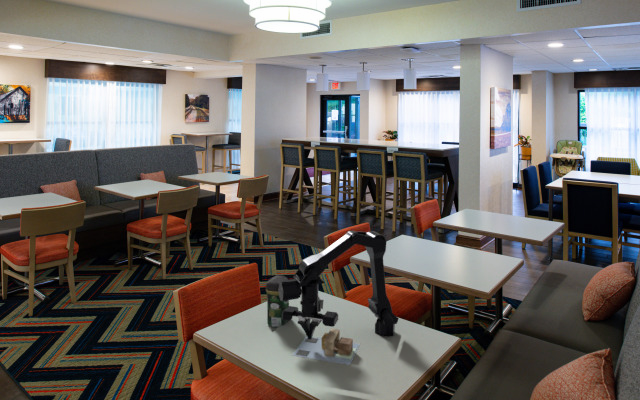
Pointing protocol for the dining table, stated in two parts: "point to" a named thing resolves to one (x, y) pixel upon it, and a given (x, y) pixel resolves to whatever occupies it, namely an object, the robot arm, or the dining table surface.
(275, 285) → the coffee jar
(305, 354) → the pale blue flat board
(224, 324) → the dining table surface
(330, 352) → the tunnel
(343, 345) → the tan u-shaped piece
